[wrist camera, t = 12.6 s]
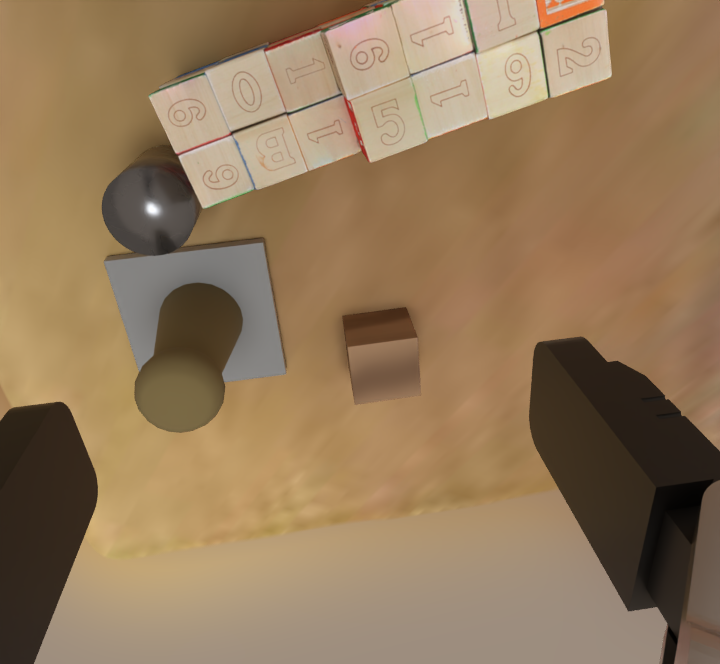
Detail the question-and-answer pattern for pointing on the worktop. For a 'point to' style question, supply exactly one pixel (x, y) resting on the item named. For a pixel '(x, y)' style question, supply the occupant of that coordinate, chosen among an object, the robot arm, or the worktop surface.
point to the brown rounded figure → (189, 358)
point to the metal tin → (151, 204)
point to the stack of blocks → (374, 85)
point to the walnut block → (382, 355)
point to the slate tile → (210, 266)
